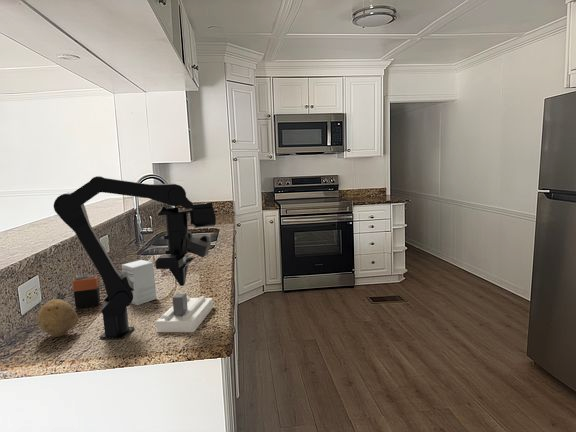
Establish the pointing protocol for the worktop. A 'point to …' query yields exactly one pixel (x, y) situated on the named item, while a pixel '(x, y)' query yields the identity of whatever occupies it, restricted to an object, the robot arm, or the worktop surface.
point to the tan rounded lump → (57, 317)
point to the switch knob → (180, 304)
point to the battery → (86, 291)
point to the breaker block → (185, 316)
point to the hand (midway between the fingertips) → (182, 285)
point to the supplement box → (141, 280)
